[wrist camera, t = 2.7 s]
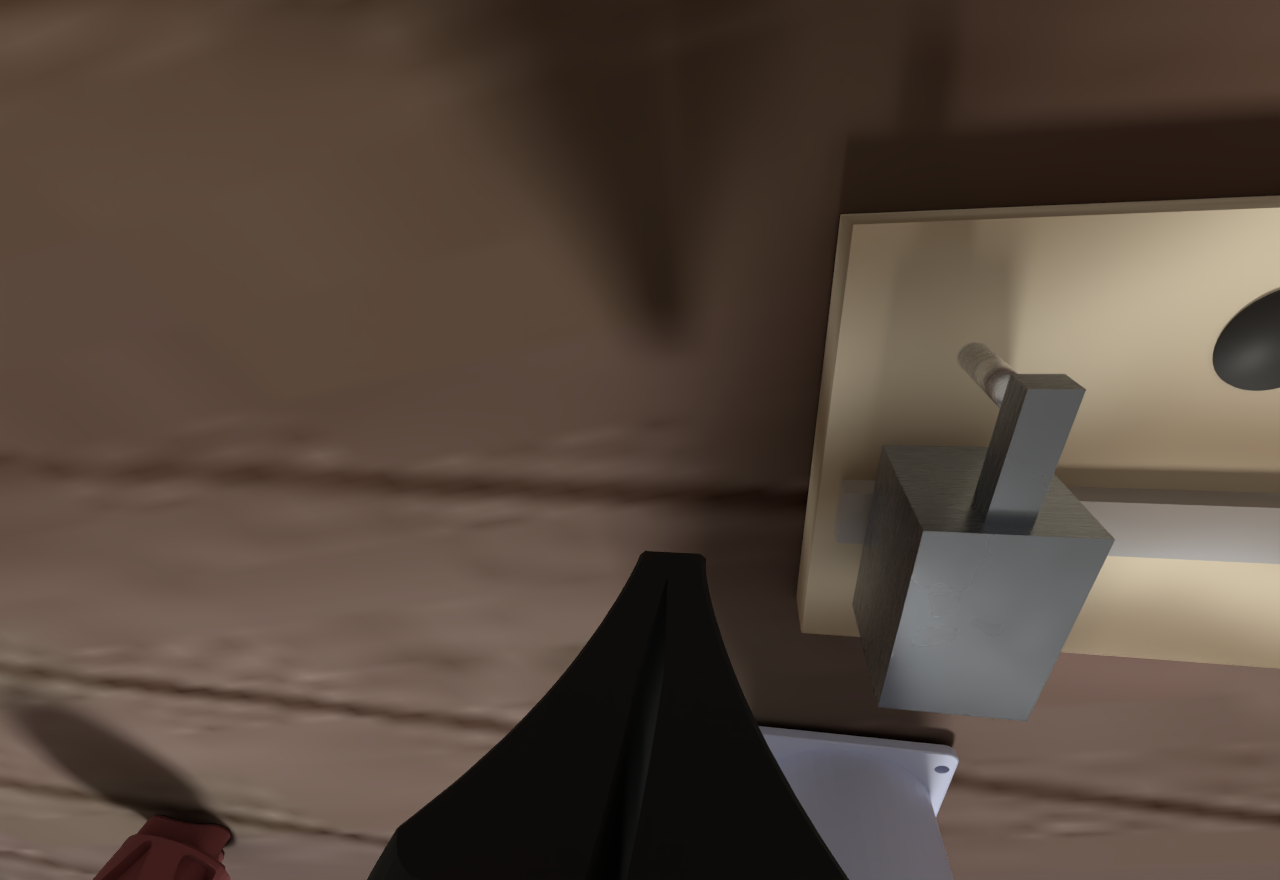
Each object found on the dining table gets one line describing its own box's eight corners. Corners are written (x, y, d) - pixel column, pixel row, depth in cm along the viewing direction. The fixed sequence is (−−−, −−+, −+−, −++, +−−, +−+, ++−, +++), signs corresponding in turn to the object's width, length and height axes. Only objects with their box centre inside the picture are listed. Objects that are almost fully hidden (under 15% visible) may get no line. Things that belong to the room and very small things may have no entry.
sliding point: (965, 598, 14) (1026, 721, 11) (848, 590, 15) (878, 707, 12) (1057, 322, 11) (1183, 398, 8) (897, 324, 11) (957, 397, 8)
